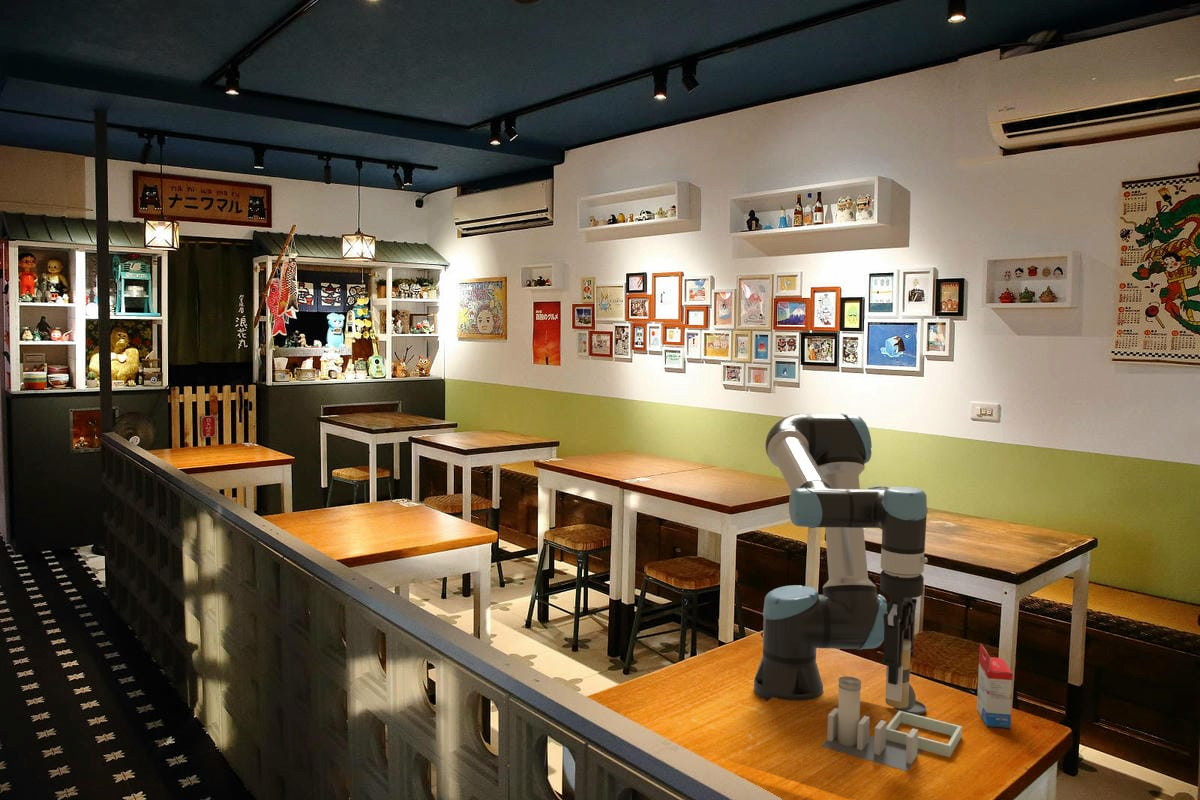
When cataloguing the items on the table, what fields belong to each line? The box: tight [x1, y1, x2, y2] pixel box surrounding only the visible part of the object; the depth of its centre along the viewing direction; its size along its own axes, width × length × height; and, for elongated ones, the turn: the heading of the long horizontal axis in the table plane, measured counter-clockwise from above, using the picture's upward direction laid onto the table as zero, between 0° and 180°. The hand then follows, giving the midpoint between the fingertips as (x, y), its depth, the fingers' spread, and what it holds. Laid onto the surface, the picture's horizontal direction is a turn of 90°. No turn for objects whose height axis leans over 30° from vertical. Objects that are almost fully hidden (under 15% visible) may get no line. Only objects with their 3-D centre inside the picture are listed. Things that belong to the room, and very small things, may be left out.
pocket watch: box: [893, 683, 927, 715], centre depth 179 cm, size 8×8×10 cm
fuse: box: [837, 676, 862, 746], centre depth 162 cm, size 4×4×12 cm
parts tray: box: [886, 710, 963, 758], centre depth 164 cm, size 12×10×4 cm
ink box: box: [976, 643, 1014, 729], centre depth 176 cm, size 8×5×15 cm, turn 168°
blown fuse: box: [885, 638, 912, 709], centre depth 156 cm, size 4×4×12 cm
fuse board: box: [821, 707, 923, 772], centre depth 160 cm, size 16×10×6 cm, turn 55°
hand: (897, 694), depth 157 cm, fingers closed on blown fuse, 4 cm apart
